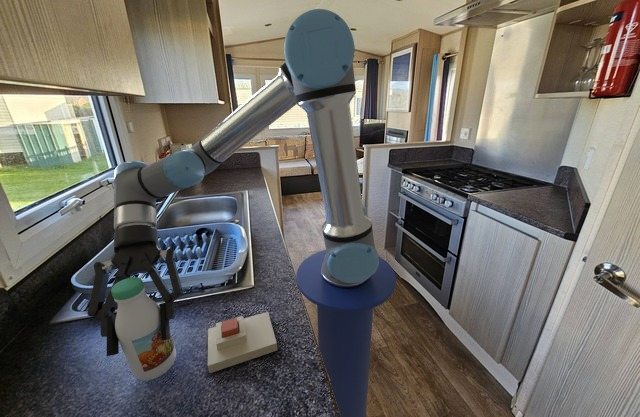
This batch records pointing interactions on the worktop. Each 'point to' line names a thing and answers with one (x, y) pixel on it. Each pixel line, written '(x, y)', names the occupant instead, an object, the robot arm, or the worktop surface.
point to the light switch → (240, 342)
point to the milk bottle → (141, 331)
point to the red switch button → (229, 327)
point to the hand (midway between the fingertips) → (140, 346)
